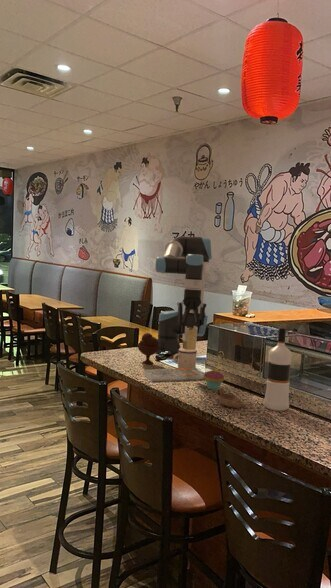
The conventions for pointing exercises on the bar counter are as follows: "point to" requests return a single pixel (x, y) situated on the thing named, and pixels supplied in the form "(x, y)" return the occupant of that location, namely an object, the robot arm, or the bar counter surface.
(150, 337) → the ice cream bowl
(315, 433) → the bar counter surface
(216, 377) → the cupcake
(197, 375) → the grey flat slab
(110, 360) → the bar counter surface
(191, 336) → the beige upright block
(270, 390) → the vodka
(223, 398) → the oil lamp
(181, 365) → the teacup with lid
